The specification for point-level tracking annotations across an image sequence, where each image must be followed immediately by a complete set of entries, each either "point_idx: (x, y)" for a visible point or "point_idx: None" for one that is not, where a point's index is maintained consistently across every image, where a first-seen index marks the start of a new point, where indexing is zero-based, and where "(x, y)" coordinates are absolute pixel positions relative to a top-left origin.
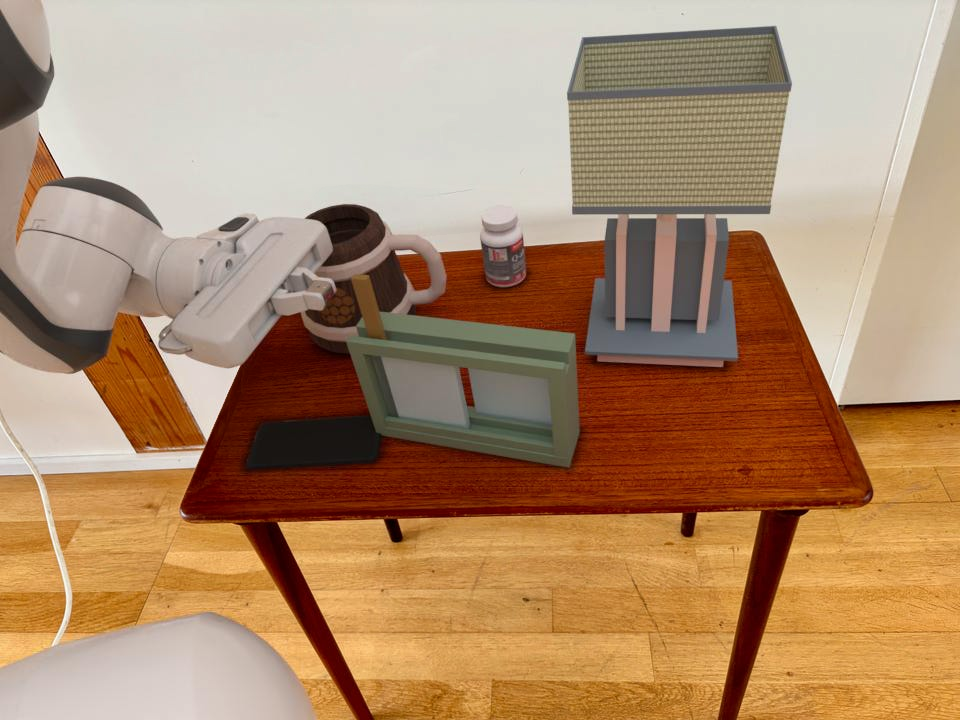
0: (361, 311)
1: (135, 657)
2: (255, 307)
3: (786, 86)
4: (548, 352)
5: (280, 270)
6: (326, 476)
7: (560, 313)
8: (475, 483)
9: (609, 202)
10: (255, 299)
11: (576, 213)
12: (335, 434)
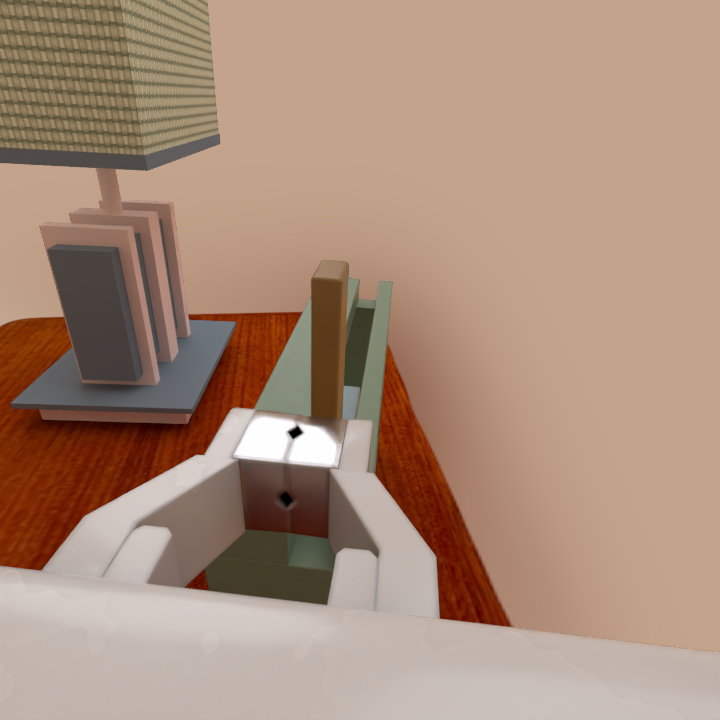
0: (336, 407)
1: None
2: (667, 648)
3: None
4: (356, 293)
5: (129, 616)
6: None
7: (45, 465)
8: (429, 532)
9: (163, 142)
10: (603, 673)
11: (150, 167)
12: None
